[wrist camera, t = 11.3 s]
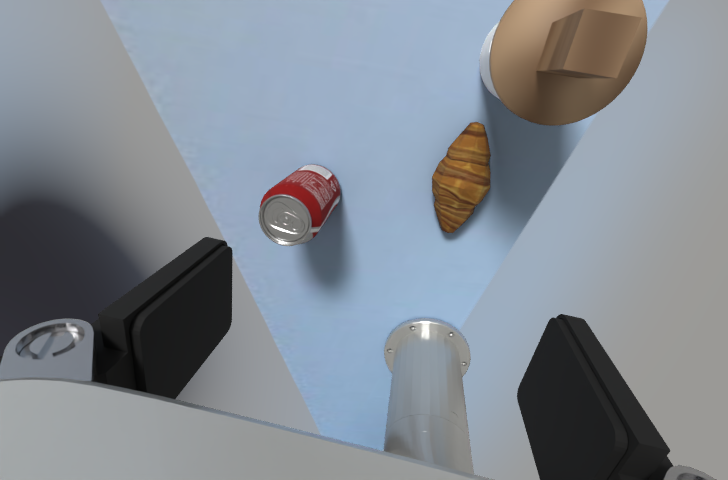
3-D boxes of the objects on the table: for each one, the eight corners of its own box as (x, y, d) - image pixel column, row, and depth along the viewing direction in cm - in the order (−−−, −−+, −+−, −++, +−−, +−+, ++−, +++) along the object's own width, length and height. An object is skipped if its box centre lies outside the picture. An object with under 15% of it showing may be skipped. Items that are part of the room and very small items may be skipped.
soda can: (304, 153, 46) (266, 176, 36) (351, 180, 47) (328, 210, 36) (283, 197, 49) (243, 231, 38) (327, 222, 50) (300, 262, 39)
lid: (668, -20, 25) (748, -52, 19) (602, 135, 30) (649, 150, 23) (514, -43, 26) (543, -82, 20) (472, 111, 31) (485, 119, 24)
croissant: (445, 115, 42) (448, 119, 38) (505, 126, 42) (514, 132, 37) (419, 222, 48) (419, 237, 44) (471, 233, 48) (476, 249, 43)
